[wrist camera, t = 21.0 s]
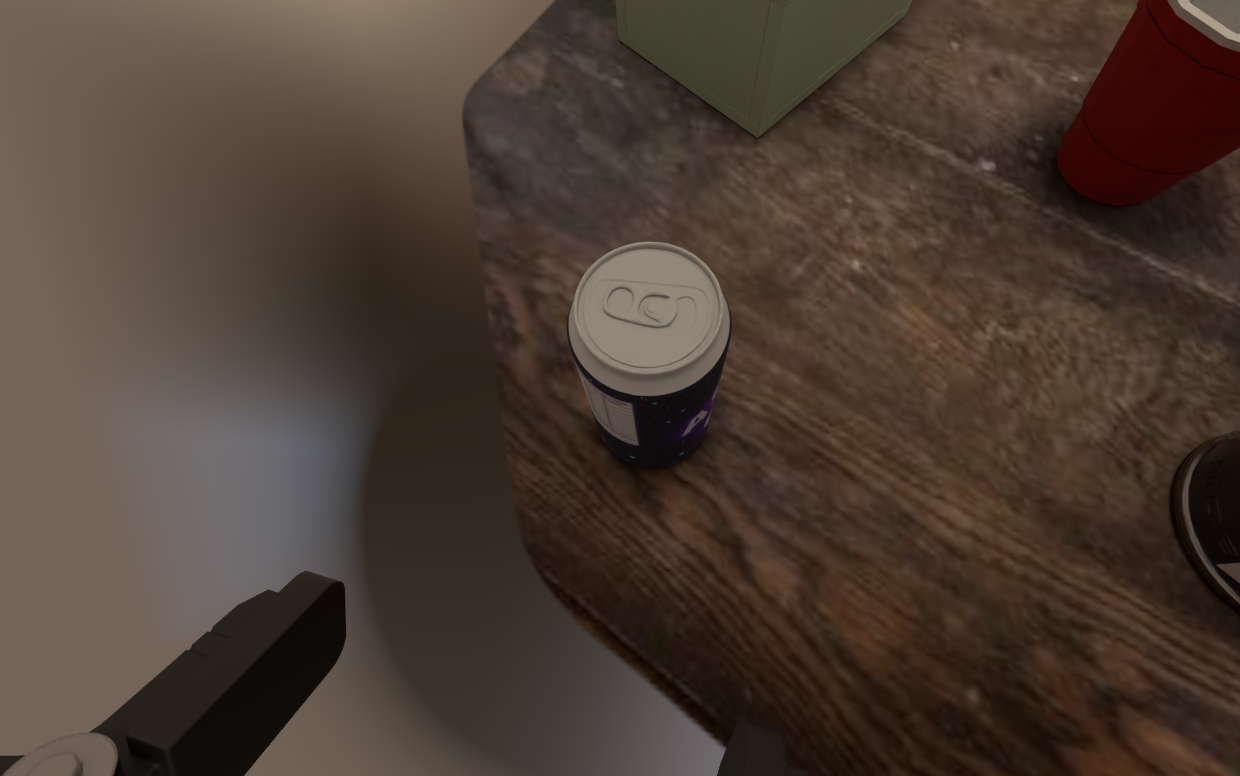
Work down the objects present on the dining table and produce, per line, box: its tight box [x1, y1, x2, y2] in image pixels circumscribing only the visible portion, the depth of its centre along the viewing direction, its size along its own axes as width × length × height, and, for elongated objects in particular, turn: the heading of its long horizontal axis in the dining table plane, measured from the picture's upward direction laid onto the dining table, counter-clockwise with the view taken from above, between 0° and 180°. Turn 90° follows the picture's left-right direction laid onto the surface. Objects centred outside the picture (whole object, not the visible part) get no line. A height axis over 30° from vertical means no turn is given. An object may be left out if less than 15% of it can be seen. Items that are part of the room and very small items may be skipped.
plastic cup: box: [1057, 0, 1240, 206], centre depth 28 cm, size 11×11×12 cm
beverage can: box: [567, 242, 732, 468], centre depth 24 cm, size 6×6×12 cm
